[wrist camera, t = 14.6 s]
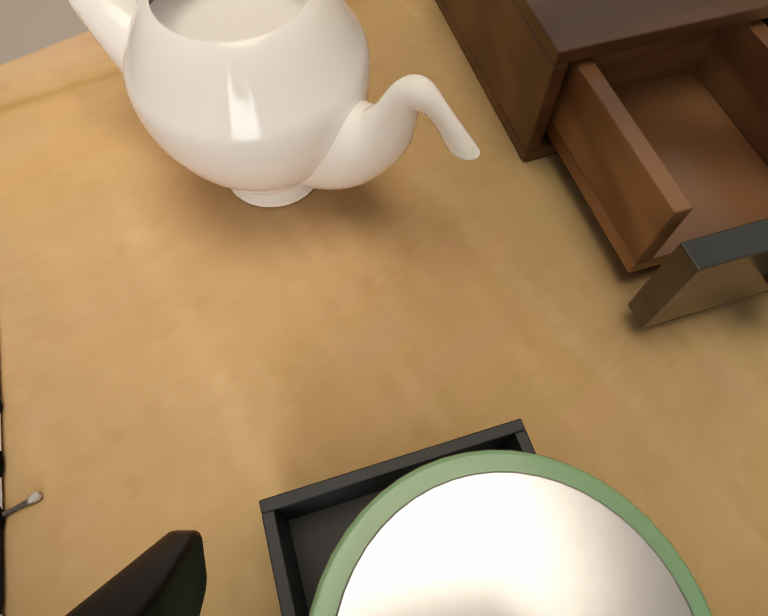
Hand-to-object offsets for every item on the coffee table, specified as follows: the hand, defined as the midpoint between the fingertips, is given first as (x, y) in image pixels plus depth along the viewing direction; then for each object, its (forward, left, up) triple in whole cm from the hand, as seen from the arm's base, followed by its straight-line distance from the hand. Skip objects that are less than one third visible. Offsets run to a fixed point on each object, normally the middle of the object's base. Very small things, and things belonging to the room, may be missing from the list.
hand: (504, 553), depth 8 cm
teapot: (+20, +1, -13) cm, 23 cm away
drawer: (+12, -16, -12) cm, 23 cm away
